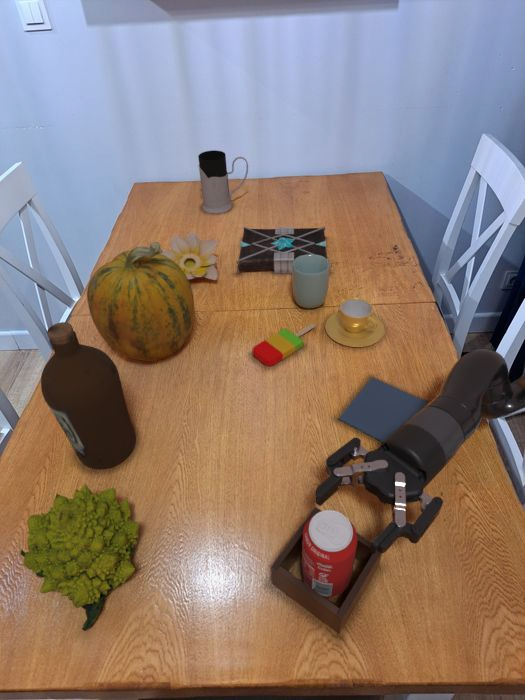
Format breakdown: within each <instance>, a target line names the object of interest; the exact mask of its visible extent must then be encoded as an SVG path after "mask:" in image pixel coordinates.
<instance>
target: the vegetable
mask: <svg viewBox="0 0 525 700" xmlns="http://www.w3.org/2000/svg"><path fill="white" fill-rule="evenodd" d="M130 509H131V508H130V502H129V499H128V497H126V498H125V499H124V500H122V501H121V502H119V500H118V499H117V492H116V488H115V487H109V488H107V489H104V490H100V492H97V493H93V492H92V491H91V489H90V487H88V486H87V484H86V483H84V484H83V485H82V487H81V489H80V490H78V489H75V490H74V494H73V497H70V498H68V497H66V496H64V495H61V494H59V493H56V495H55V497H54V499H53V505H52V507H50V508H49V510H48V511H47V513H46V512H45V513H43V512H41V513H40V514H32V515H29V516H28V518H27V521H26V523H27V529H28V531H27V532H26V534H27V535H28V536H27V538H26V545H27V548H28V551H26V552H25V551H24V550H22V549H20V556H21V557H24V558H23V566H24V567H26V569H28V571H30V570H31V571H32V574H34V573H35V576H36V577H38V578H42V579H43V583H42V584H41V588H40V590H39V593H41V594H47V593H51V592H55V591H58V592H60V593H61V597H68V600H69V601H72V604H73V606H74V608H76V609H77V608H82V609H84V610H85V616H86V619H85V621H84V624H83V625H82V627H81V630H82V631H84V632H87V631H88V630H89V629H91V628H92V627H93V625H94V622H95V621H96V619H97V618H98V617H99V615H100V612H101V608H102V607H103V605H104V601H105V599H106V597H107V596H108V594H109V593H110V592H111V591H112V590H115V589H116V588H118V586H119V585H120V584H125V583H126V581H127V580H128V579H129V578H130V577H132V575H133V574H134V572H135V571H136V567H134V565H133V564H132V562H131V561H132V559H131V558H132V557H133V552H134V550H135V547H134V546H135V545H136V544H138V542H137V539H138V538H139V531H140V527H139V521H132V519H131V516H132V511H131V510H130Z"/></svg>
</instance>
